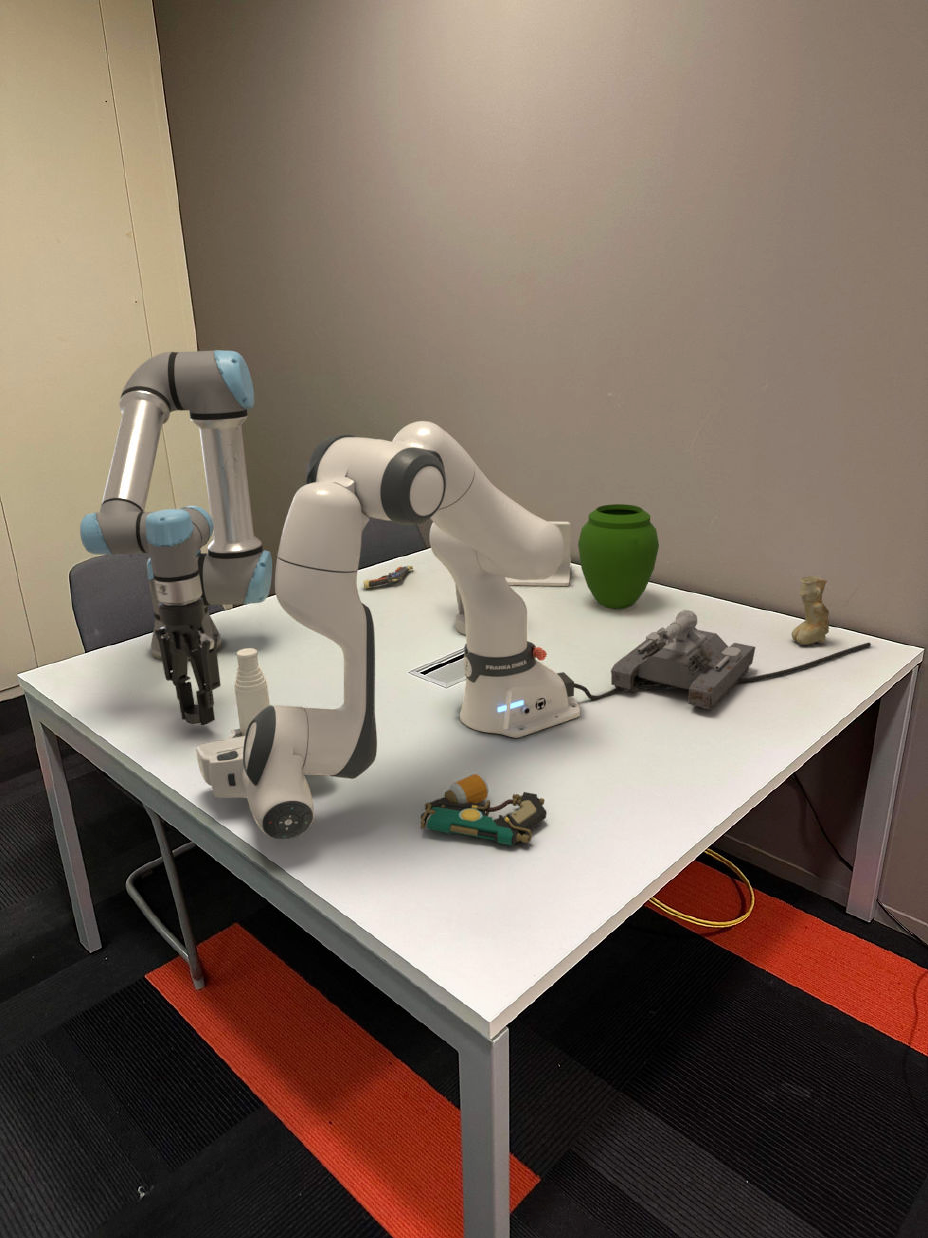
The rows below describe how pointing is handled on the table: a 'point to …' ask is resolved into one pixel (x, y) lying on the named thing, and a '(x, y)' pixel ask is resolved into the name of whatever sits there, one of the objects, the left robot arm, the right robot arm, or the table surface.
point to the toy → (685, 662)
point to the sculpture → (812, 612)
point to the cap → (192, 714)
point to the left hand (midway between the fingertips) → (198, 719)
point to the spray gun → (482, 813)
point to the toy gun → (388, 577)
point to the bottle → (249, 688)
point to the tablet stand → (563, 572)
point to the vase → (618, 554)
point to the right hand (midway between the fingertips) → (255, 729)
